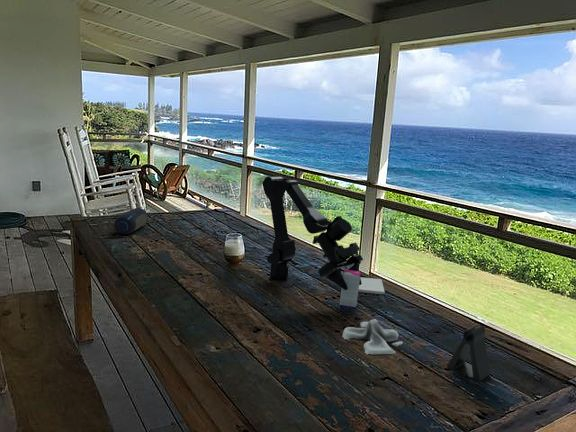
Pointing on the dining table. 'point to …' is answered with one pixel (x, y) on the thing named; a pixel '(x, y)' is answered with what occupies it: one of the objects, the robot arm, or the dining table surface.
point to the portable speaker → (131, 221)
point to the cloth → (373, 337)
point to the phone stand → (479, 358)
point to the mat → (371, 286)
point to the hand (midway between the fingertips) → (353, 287)
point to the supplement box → (350, 289)
